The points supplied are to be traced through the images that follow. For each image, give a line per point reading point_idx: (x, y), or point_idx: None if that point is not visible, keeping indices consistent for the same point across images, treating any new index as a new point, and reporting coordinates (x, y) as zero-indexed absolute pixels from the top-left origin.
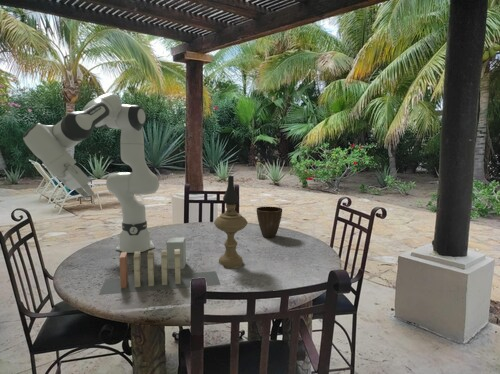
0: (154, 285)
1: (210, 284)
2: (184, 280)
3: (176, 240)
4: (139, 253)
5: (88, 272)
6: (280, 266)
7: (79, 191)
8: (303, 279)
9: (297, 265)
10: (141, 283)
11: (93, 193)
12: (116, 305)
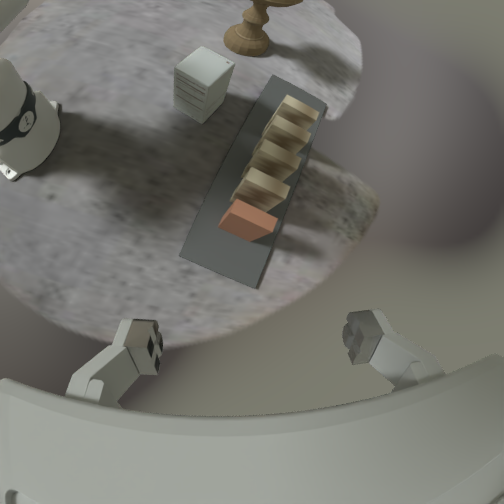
0: None
1: (319, 112)
2: None
3: (213, 66)
4: (269, 176)
5: (102, 275)
6: (298, 21)
7: (118, 389)
8: (347, 40)
9: (305, 13)
10: None
11: (378, 314)
12: (307, 269)
